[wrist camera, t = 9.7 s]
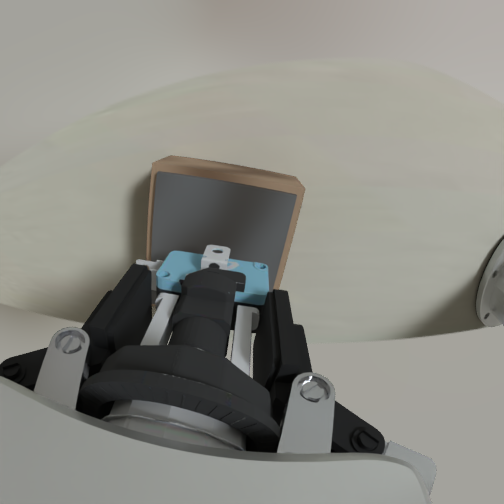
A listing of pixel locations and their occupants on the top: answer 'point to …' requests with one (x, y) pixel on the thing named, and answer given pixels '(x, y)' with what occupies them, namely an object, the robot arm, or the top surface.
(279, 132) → the top surface
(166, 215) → the stand
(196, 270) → the push button
